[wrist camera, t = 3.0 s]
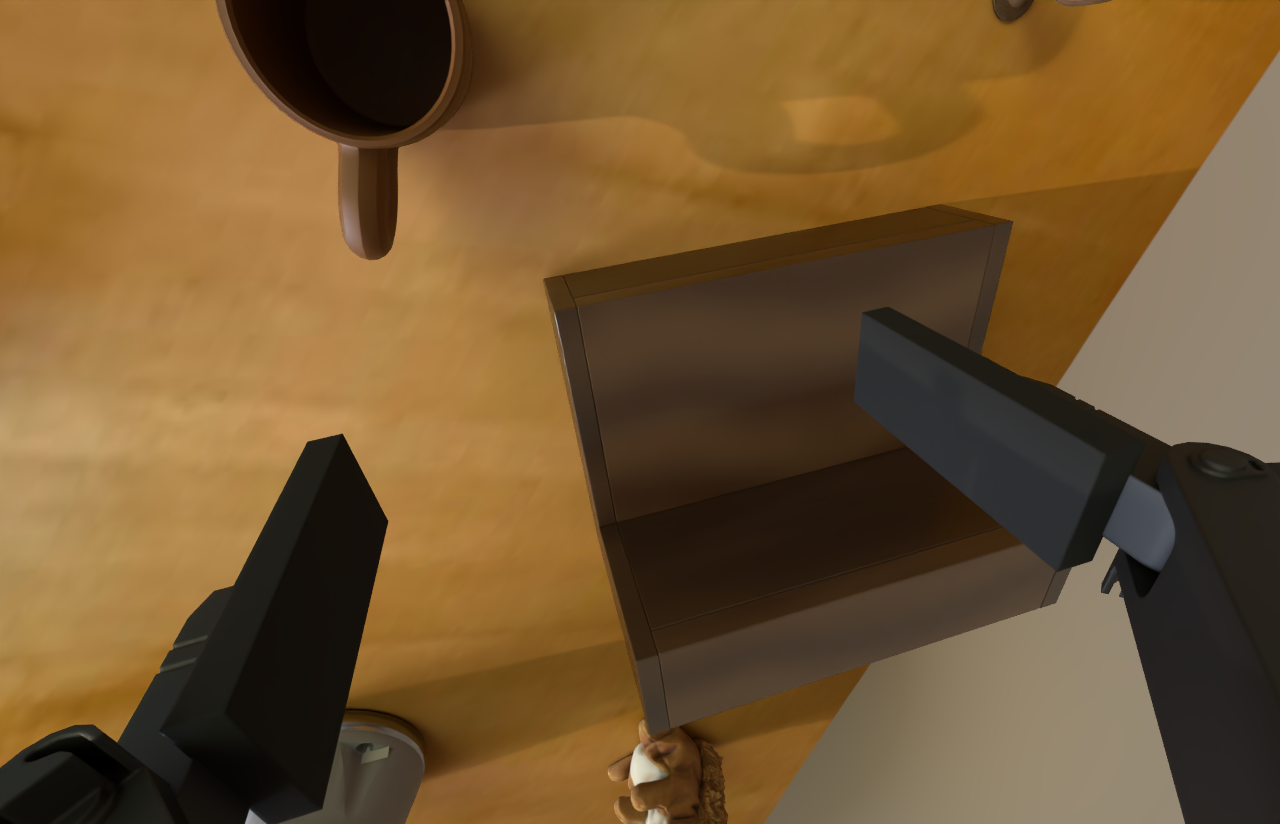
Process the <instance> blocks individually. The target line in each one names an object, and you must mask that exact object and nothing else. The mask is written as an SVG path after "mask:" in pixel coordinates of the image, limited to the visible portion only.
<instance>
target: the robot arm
mask: <svg viewBox="0 0 1280 824" xmlns="http://www.w3.org/2000/svg"><path fill="white" fill-rule="evenodd" d="M854 402H855V403H856V404H857V405H858V406H859V407H861V408H862V409H863V410H864V411H865V412H867V413H868V414H869V415H870V416H871V417H873V418H874V419H875V420H876V421H877V422H879V423H880V424H881V425H882V426H883V427H884V428H886V429H887V430H888V431H889V432H890V433H892V434H893V435H894V436H895V437H896V438H898V439H899V440H900V441H901V442H902V443H904V444H905V445H906V446H907V447H908V448H910V449H911V450H912V451H913V452H914V453H916V454H917V455H918V456H919V457H920V458H922V459H923V460H924V461H925V462H926V463H927V464H929V465H930V466H931V467H932V468H933V469H935V470H936V471H937V472H938V473H939V474H941V475H942V476H943V477H944V478H945V479H947V480H948V481H949V482H950V483H951V484H953V485H954V486H955V487H956V488H957V489H959V490H960V491H961V492H962V493H963V494H965V495H966V496H967V497H968V498H969V499H970V500H972V501H973V502H974V503H975V504H976V505H978V506H979V507H980V508H981V509H982V510H984V511H985V512H986V513H987V514H988V515H990V516H991V517H992V518H993V519H994V520H996V521H997V522H998V523H999V524H1000V525H1002V526H1003V527H1004V528H1005V529H1006V530H1008V531H1009V532H1010V533H1011V534H1012V535H1013V536H1015V537H1016V538H1017V539H1018V540H1019V541H1021V542H1022V543H1023V544H1024V545H1025V546H1027V547H1028V548H1029V549H1030V550H1031V551H1033V552H1034V553H1035V554H1036V555H1037V556H1039V557H1040V558H1041V559H1042V560H1043V561H1045V562H1046V563H1047V564H1048V565H1049V566H1051V567H1052V568H1053V569H1054V570H1055V571H1056V572H1059V571H1062V570H1065V569H1068V568H1071V567H1074V566H1077V565H1080V564H1083V563H1087V562H1090V561H1092V560H1093V558H1094V555H1095V553H1096V551H1097V549H1098V547H1099V544H1100V542H1101V540H1102V538H1103V537H1105V538H1106V539H1108V540H1109V541H1110V542H1112V543H1113V544H1115V545H1116V546H1117V547H1119V550H1118V552H1117V554H1116V556H1115V558H1114V560H1113V562H1112V564H1111V566H1110V568H1109V570H1108V572H1107V574H1106V576H1105V578H1104V580H1103V582H1102V587H1101V593H1105V594H1109V592H1110V590H1111V588H1112V586H1113V584H1114V583H1115V582H1117V581H1119V582H1120V587H1121V590H1122V591H1121V593H1120V595H1119V596H1120V597H1123V598H1124V601H1125V605H1126V608H1127V612H1128V616H1129V619H1130V623H1131V626H1132V630H1133V634H1134V638H1135V641H1136V645H1137V649H1138V652H1139V656H1140V659H1141V663H1142V667H1143V671H1144V674H1145V678H1146V681H1147V685H1148V689H1149V693H1150V696H1151V700H1152V703H1153V707H1154V711H1155V715H1156V718H1157V722H1158V726H1159V729H1160V733H1161V737H1162V740H1163V744H1164V747H1165V751H1166V755H1167V759H1168V762H1169V766H1170V770H1171V773H1172V777H1173V781H1174V784H1175V788H1176V792H1177V795H1178V799H1179V802H1180V806H1181V809H1182V814H1183V817H1184V820H1185V824H1280V463H1264V462H1262V461H1260V460H1259V459H1256V458H1255V457H1253V456H1251V455H1249V454H1247V453H1244V452H1241V451H1238V450H1235V449H1232V448H1229V447H1226V446H1220V445H1215V444H1210V443H1197V442H1186V443H1181V444H1176V445H1174V446H1170V445H1168V444H1166V443H1164V442H1162V441H1160V440H1158V439H1156V438H1154V437H1152V436H1150V435H1148V434H1146V433H1144V432H1142V431H1140V430H1138V429H1136V428H1135V427H1133V426H1130V425H1129V424H1127V423H1125V422H1123V421H1121V420H1119V419H1117V418H1115V417H1113V416H1111V415H1109V414H1107V413H1105V412H1103V411H1101V410H1095V408H1094V406H1091V405H1090V404H1088V403H1086V402H1084V401H1082V400H1076V399H1075V397H1074V396H1072V395H1070V394H1068V393H1067V392H1065V391H1063V390H1061V389H1059V388H1057V387H1055V386H1053V385H1050V384H1047V383H1044V382H1040V381H1037V380H1033V379H1030V378H1027V377H1021V376H1019V375H1017V374H1015V373H1014V372H1012V371H1010V370H1008V369H1006V368H1004V367H1002V366H1000V365H998V364H997V363H995V362H993V361H991V360H989V359H987V358H985V357H983V356H981V355H979V354H978V353H976V352H974V351H972V350H970V349H968V348H966V347H964V346H962V345H961V344H959V343H957V342H955V341H953V340H951V339H949V338H947V337H945V336H944V335H942V334H940V333H938V332H936V331H934V330H932V329H930V328H928V327H926V326H925V325H923V324H921V323H919V322H917V321H915V320H913V319H911V318H909V317H908V316H906V315H904V314H902V313H900V312H898V311H896V310H894V309H892V308H890V307H889V306H888V307H883V308H879V309H875V310H870V311H866V312H862V318H861V328H860V339H859V349H858V360H857V370H856V381H855V391H854ZM387 525H388V520H387V518H386V516H385V514H384V512H383V510H382V508H381V506H380V504H379V503H378V501H377V499H376V497H375V495H374V493H373V491H372V489H371V487H370V485H369V483H368V481H367V480H366V478H365V476H364V474H363V472H362V470H361V468H360V466H359V464H358V462H357V460H356V458H355V457H354V455H353V453H352V451H351V449H350V447H349V445H348V443H347V441H346V439H345V437H344V435H343V434H339V435H335V436H330V437H326V438H322V439H317V440H313V441H309V442H307V444H306V446H305V448H304V450H303V452H302V454H301V456H300V458H299V459H298V461H297V463H296V465H295V467H294V469H293V471H292V473H291V475H290V477H289V479H288V481H287V483H286V485H285V487H284V489H283V491H282V493H281V495H280V496H279V498H278V500H277V502H276V504H275V506H274V508H273V510H272V512H271V514H270V516H269V518H268V520H267V522H266V524H265V526H264V528H263V530H262V532H261V533H260V535H259V537H258V539H257V541H256V543H255V545H254V547H253V549H252V551H251V553H250V555H249V557H248V559H247V561H246V563H245V565H244V567H243V569H242V571H241V572H240V574H239V576H238V578H237V580H236V582H235V584H234V586H231V587H228V588H224V589H220V590H216V591H214V592H213V593H212V594H211V595H210V596H209V597H208V598H207V599H206V600H205V601H204V602H203V603H202V604H201V605H200V606H199V607H198V608H197V609H196V610H195V611H194V612H193V613H192V614H191V615H190V617H189V618H188V619H187V621H186V623H185V624H184V626H183V628H182V630H181V632H180V633H179V635H178V637H177V639H176V640H175V642H174V644H173V650H171V651H169V653H168V654H167V656H166V658H165V660H164V661H163V663H162V665H161V667H160V673H159V674H156V675H155V677H154V679H153V681H152V683H151V684H150V686H149V688H148V690H147V691H146V693H145V695H144V697H143V698H142V700H141V702H140V704H139V705H138V707H137V709H136V711H135V712H134V714H133V716H132V718H131V719H130V721H129V723H128V725H127V727H126V728H125V730H124V732H123V734H122V735H121V737H120V739H119V741H118V742H117V743H116V742H115V741H114V740H113V739H111V738H110V737H109V736H108V735H106V734H105V733H104V732H102V731H101V730H100V729H98V728H97V727H96V726H94V725H74V726H71V727H68V728H66V729H63V730H60V731H57V732H55V733H52V734H49V735H48V736H46V737H44V738H43V739H41V740H39V741H38V742H36V743H34V744H32V745H31V746H29V747H27V748H26V749H24V750H22V751H21V752H20V753H18V754H17V755H16V756H15V757H13V758H12V759H11V760H10V761H8V762H7V763H6V764H5V765H3V766H2V767H1V768H0V824H405V822H406V819H407V817H408V814H409V812H410V809H411V807H412V804H413V802H414V799H415V797H416V794H417V792H418V789H419V787H420V784H421V781H422V778H423V775H424V768H425V757H426V746H425V742H424V740H423V738H422V736H421V735H420V734H419V732H418V731H417V730H416V729H415V728H413V727H412V726H411V725H409V724H408V723H406V722H404V721H402V720H400V719H398V718H395V717H392V716H389V715H385V714H381V713H376V712H369V711H359V710H345V708H346V704H347V700H348V695H349V691H350V686H351V682H352V678H353V673H354V669H355V665H356V660H357V656H358V652H359V647H360V643H361V638H362V634H363V630H364V625H365V621H366V617H367V612H368V608H369V603H370V599H371V595H372V590H373V586H374V582H375V577H376V573H377V568H378V564H379V560H380V555H381V551H382V547H383V542H384V538H385V534H386V529H387Z"/></svg>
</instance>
